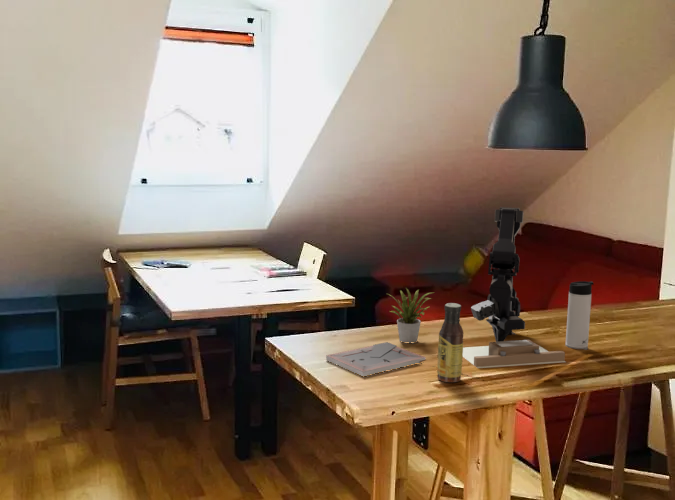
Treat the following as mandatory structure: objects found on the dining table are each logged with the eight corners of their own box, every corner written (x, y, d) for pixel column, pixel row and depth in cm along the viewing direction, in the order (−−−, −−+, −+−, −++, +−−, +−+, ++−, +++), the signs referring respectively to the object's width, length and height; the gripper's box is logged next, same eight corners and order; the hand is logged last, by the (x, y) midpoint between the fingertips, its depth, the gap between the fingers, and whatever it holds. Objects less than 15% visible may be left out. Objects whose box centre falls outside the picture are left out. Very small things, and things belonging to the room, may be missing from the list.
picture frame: (386, 350, 226) (326, 363, 214) (387, 341, 226) (326, 354, 213) (425, 365, 213) (363, 380, 200) (425, 356, 213) (363, 370, 200)
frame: (488, 356, 216) (489, 340, 215) (528, 354, 219) (528, 338, 218) (497, 363, 210) (498, 347, 209) (538, 360, 213) (539, 344, 212)
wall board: (451, 350, 224) (452, 336, 223) (534, 345, 230) (535, 331, 229) (477, 370, 206) (478, 355, 206) (566, 364, 212) (567, 349, 212)
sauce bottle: (434, 375, 202) (437, 301, 199) (458, 375, 203) (461, 301, 199) (439, 384, 196) (442, 307, 192) (464, 384, 196) (467, 307, 193)
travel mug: (589, 352, 224) (594, 284, 220) (566, 350, 225) (570, 283, 222) (587, 346, 230) (592, 279, 226) (564, 344, 231) (568, 278, 228)
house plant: (445, 341, 232) (448, 288, 230) (417, 351, 222) (419, 295, 220) (408, 332, 242) (409, 280, 239) (379, 341, 232) (380, 287, 229)
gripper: (462, 286, 228) (460, 337, 230) (489, 301, 210) (486, 357, 213) (497, 284, 230) (494, 335, 233) (527, 299, 212) (524, 354, 215)
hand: (499, 345), depth 223 cm, fingers closed
